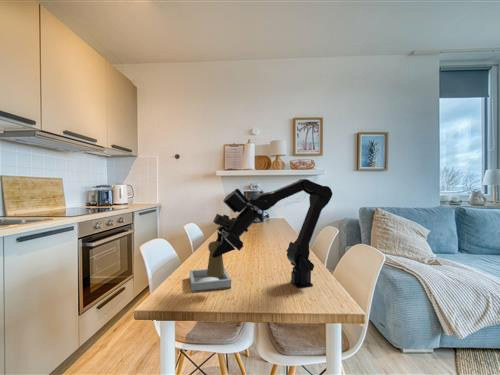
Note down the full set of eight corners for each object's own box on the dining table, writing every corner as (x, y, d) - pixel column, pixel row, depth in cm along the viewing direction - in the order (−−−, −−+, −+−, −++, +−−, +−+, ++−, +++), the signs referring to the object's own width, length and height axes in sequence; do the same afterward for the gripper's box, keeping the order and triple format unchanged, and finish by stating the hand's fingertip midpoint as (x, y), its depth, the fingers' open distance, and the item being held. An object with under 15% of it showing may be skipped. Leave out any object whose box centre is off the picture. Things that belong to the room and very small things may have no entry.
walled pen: (223, 274, 104) (223, 267, 104) (231, 288, 90) (231, 279, 90) (189, 277, 100) (189, 270, 100) (191, 292, 86) (191, 283, 86)
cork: (218, 269, 90) (218, 239, 90) (227, 274, 85) (228, 242, 85) (203, 272, 86) (203, 241, 86) (212, 278, 81) (212, 244, 81)
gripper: (222, 203, 95) (192, 233, 92) (233, 208, 78) (197, 245, 74) (242, 223, 98) (213, 253, 95) (257, 232, 80) (223, 269, 77)
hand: (211, 254), depth 85 cm, fingers closed on cork, 5 cm apart
